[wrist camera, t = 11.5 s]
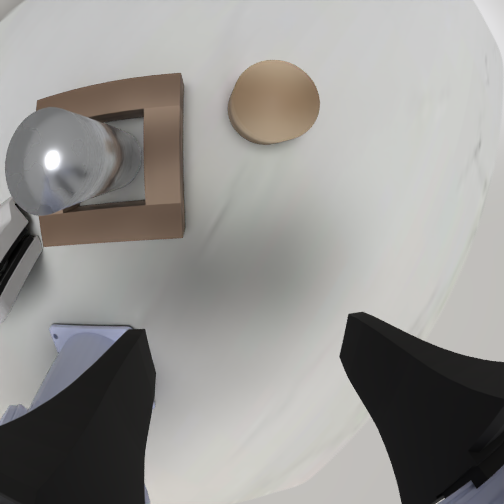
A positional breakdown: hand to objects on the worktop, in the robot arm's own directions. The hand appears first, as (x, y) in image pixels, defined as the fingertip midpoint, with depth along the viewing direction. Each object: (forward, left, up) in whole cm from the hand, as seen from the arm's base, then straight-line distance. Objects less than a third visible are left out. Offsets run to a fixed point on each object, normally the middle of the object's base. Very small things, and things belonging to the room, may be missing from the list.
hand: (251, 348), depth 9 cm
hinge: (0, +22, -11) cm, 25 cm away
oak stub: (+10, -3, -11) cm, 15 cm away
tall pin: (+7, +7, -10) cm, 14 cm away
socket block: (+7, +7, -10) cm, 14 cm away
